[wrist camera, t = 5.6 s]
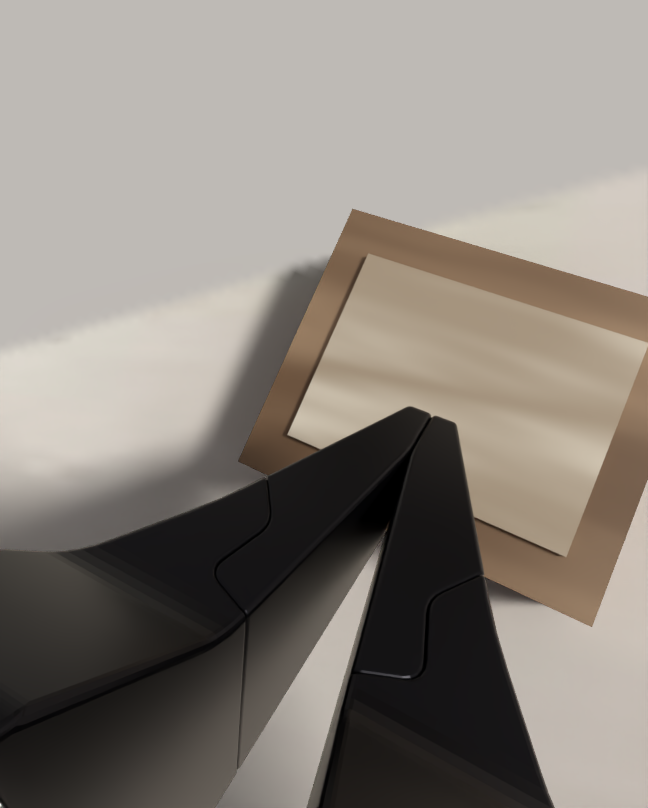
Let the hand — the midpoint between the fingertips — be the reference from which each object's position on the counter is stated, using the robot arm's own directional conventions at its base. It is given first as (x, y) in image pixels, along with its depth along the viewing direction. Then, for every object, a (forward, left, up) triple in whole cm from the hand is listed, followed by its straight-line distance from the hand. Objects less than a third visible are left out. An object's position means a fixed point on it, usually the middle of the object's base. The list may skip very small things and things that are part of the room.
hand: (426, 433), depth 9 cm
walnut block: (-2, +1, -5) cm, 6 cm away
